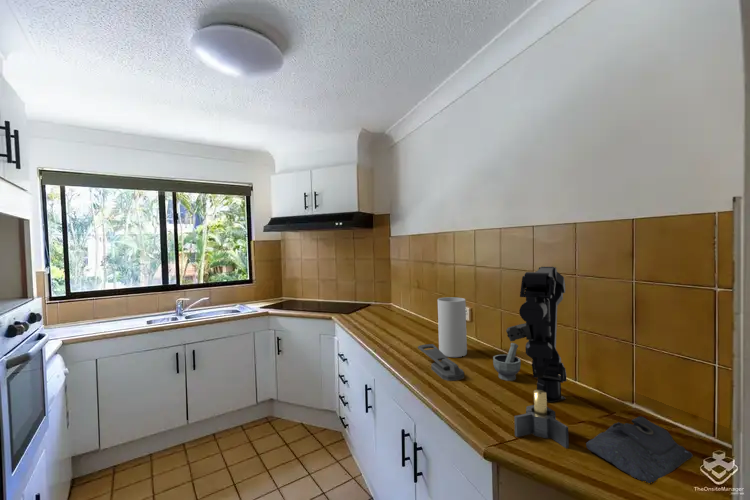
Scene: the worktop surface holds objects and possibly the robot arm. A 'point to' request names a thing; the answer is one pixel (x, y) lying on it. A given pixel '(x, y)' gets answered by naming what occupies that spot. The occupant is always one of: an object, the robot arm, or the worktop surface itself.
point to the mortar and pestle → (507, 364)
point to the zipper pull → (442, 364)
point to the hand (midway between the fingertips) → (540, 371)
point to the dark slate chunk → (639, 449)
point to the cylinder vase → (452, 326)
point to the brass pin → (540, 403)
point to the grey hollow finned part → (541, 426)
